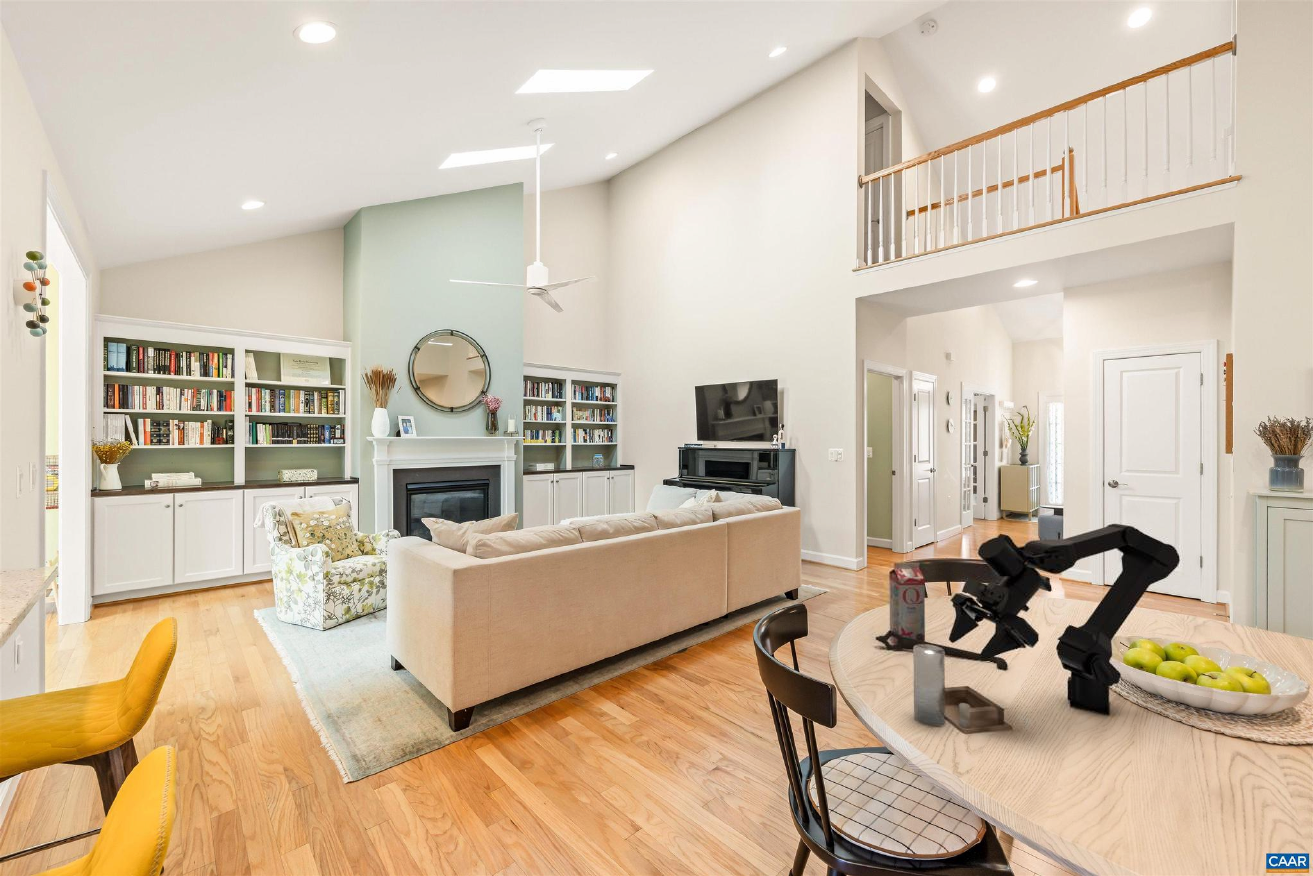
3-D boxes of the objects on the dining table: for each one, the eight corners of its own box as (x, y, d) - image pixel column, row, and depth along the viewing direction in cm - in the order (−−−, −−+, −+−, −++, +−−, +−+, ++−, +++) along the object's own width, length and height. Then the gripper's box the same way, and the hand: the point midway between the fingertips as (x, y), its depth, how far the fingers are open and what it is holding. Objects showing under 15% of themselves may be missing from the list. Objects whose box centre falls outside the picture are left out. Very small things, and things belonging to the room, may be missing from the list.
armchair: (969, 700, 122) (969, 679, 122) (1012, 729, 110) (1011, 705, 110) (926, 704, 121) (925, 682, 121) (964, 733, 109) (964, 709, 109)
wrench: (1007, 679, 138) (873, 651, 150) (1004, 673, 142) (875, 646, 155) (1009, 657, 138) (875, 631, 150) (1006, 651, 142) (876, 626, 155)
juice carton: (925, 648, 152) (924, 565, 152) (899, 648, 152) (898, 565, 152) (914, 639, 159) (913, 560, 159) (889, 639, 159) (889, 560, 159)
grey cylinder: (933, 711, 118) (933, 643, 118) (951, 725, 112) (950, 653, 112) (908, 714, 117) (907, 645, 117) (924, 727, 111) (924, 655, 111)
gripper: (958, 555, 126) (911, 608, 124) (1024, 576, 107) (970, 638, 106) (991, 589, 127) (945, 643, 125) (1062, 616, 108) (1009, 679, 107)
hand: (965, 649), depth 116 cm, fingers open, 9 cm apart
